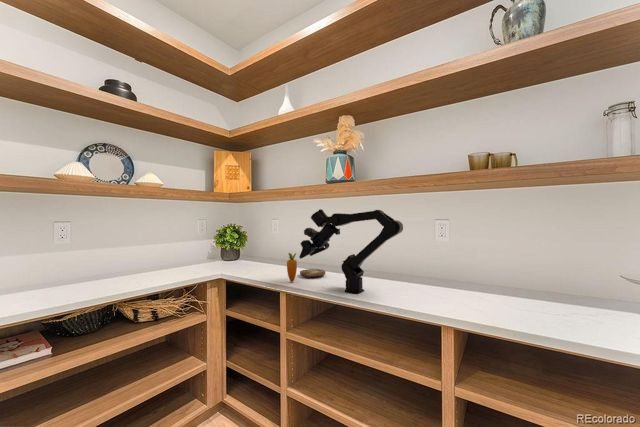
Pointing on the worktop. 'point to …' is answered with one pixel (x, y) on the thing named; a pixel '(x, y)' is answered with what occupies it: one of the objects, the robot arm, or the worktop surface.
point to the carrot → (291, 267)
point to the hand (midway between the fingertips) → (305, 256)
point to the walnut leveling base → (312, 273)
